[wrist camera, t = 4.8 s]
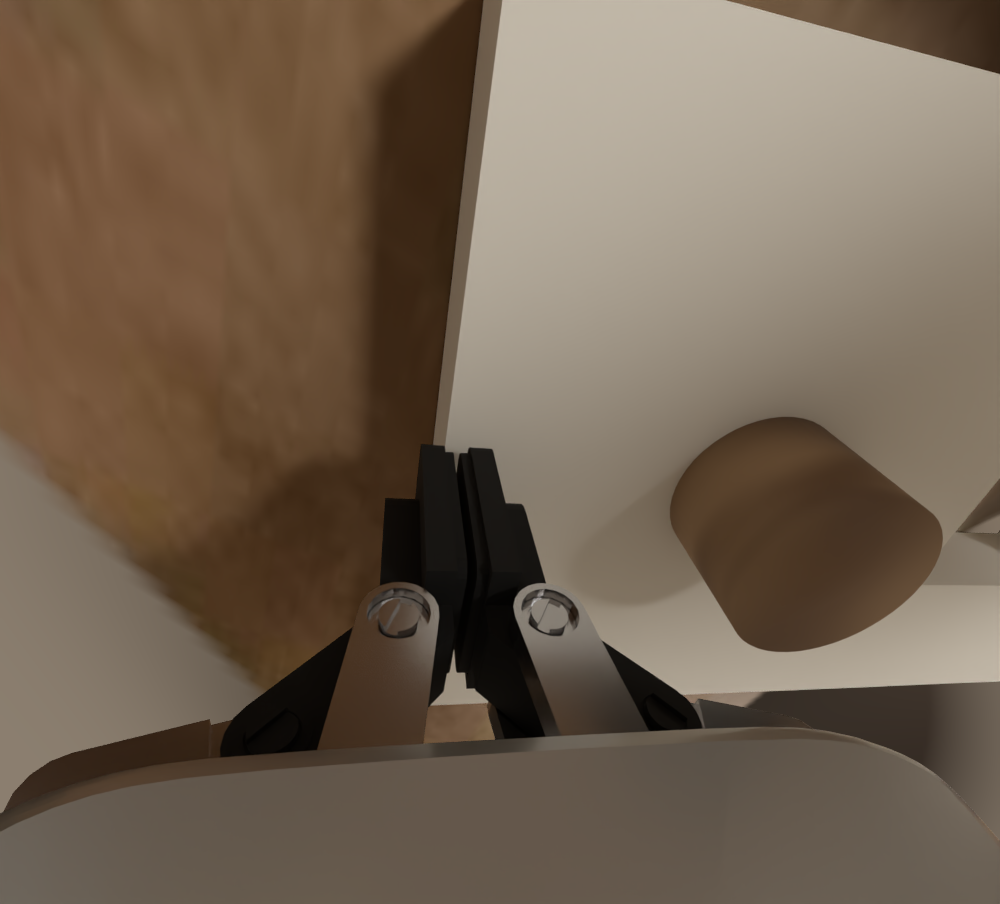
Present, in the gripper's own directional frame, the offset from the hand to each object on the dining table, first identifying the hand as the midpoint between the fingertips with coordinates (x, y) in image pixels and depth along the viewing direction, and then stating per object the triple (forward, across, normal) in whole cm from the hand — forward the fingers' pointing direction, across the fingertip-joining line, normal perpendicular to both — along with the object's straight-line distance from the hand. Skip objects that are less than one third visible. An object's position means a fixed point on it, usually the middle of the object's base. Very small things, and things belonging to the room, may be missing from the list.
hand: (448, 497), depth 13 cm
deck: (+4, -14, 0) cm, 14 cm away
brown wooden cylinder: (+1, -9, 0) cm, 9 cm away
